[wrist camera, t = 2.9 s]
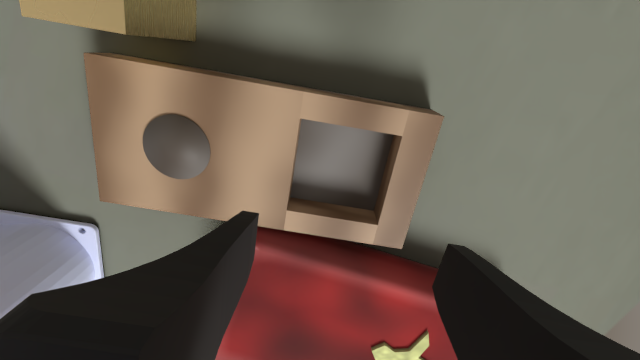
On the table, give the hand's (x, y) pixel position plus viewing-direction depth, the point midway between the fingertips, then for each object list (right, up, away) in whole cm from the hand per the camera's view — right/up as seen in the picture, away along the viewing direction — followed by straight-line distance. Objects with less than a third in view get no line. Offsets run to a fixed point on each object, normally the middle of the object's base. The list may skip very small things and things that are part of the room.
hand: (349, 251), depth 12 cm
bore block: (-5, +5, +9) cm, 12 cm away
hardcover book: (+2, -8, +15) cm, 17 cm away
